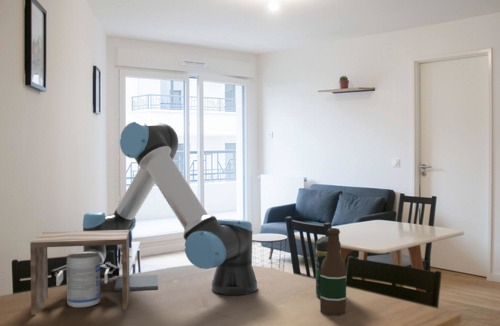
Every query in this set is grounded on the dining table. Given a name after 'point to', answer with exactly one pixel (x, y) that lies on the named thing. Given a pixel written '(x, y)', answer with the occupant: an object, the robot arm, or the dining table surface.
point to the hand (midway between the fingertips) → (82, 279)
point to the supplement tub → (83, 279)
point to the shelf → (72, 239)
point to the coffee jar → (321, 259)
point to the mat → (138, 282)
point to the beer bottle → (333, 278)
